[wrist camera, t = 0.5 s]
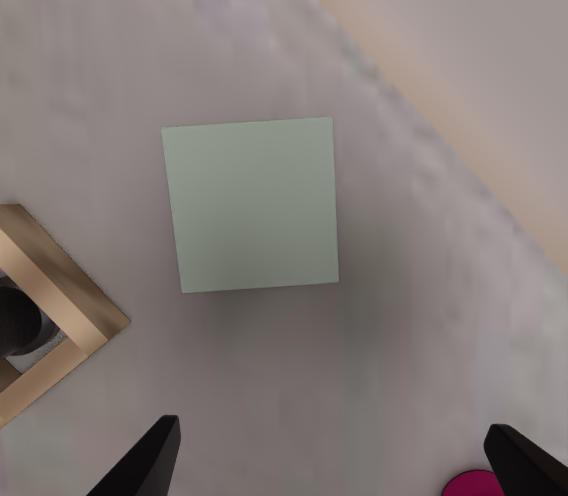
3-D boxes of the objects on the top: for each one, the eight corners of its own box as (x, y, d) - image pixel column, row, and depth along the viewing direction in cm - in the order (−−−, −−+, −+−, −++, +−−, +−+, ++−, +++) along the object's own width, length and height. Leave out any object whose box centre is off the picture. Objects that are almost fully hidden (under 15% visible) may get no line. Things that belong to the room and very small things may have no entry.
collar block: (131, 322, 22) (108, 340, 19) (26, 408, 23) (-12, 438, 20) (19, 204, 21) (-24, 204, 18) (-88, 301, 22) (-146, 316, 19)
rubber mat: (337, 280, 22) (338, 282, 22) (184, 291, 22) (181, 293, 21) (331, 118, 20) (332, 116, 20) (164, 129, 20) (161, 127, 20)
